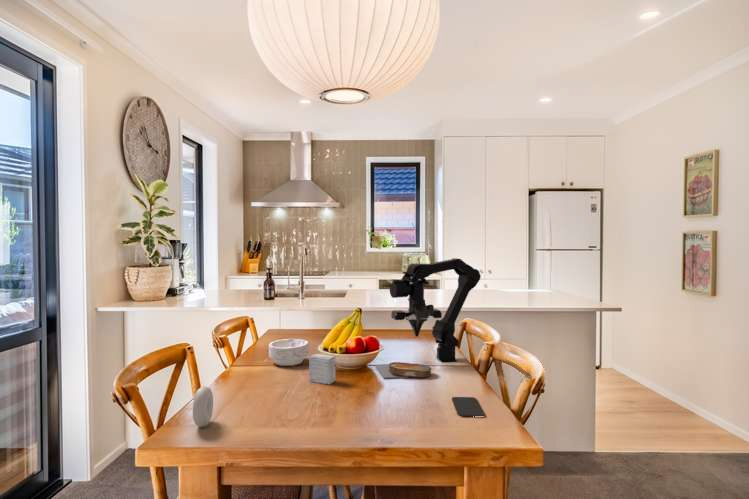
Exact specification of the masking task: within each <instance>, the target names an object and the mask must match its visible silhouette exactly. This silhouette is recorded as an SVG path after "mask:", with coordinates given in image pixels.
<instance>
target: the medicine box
mask: <svg viewBox="0 0 749 499" xmlns="http://www.w3.org/2000/svg"><path fill="white" fill-rule="evenodd" d="M308 359H309V362H308V363H309V364H308V365H309V366H308V369H309V370H308V376H309V377H308V381H309V382H311V383H317V384H323V385H331V384H333V383H334V382H335V381H336V356H335V355H328V354H319V353H315V354H313V355H311V356H309V358H308Z"/></svg>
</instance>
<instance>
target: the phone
mask: <svg viewBox="0 0 749 499" xmlns="http://www.w3.org/2000/svg"><path fill="white" fill-rule="evenodd" d="M451 401H452V403H453V406H454V409H455V411H457V412H456V413H457V416H458V415H459V416H462V417H461V418H470V417H473V416H474V417H475V416H485V414H486V413H485V412H484V410H483V409H482V407H481V405H480V403H479V401H478V400H477V398H476V397H473V396H453V397H451ZM459 416H458V417H459ZM485 417H486V416H485Z"/></svg>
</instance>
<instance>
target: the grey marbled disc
mask: <svg viewBox="0 0 749 499" xmlns="http://www.w3.org/2000/svg"><path fill="white" fill-rule="evenodd" d="M196 390H197V391H196V392H195V395H194V398H193V401H192V418H193V422H194V424H195V426H197V427H199V428H204V427H206V426H207V425H209V423H210V422H211V419H212V416H213V411H214V395H213V391H212V389H211V388H210V387H209V386H205V385H204V386H201V387H200V388H198V389H196Z"/></svg>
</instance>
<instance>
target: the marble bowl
mask: <svg viewBox="0 0 749 499" xmlns="http://www.w3.org/2000/svg"><path fill="white" fill-rule="evenodd" d="M309 350H310V349H309V341H307V340H305V339H300V338H286V339H285V338H284V339H277V340H274V341H272V342H270V343H269V344H268V357H269V358H270V359H272V360H273V361H274V363H275V364H276V365H277V366H283V367H291V366H292V367H293V366H296V365H297V366H298V365H300V364H301V363H303V361H304V359H305V358H306V357H308V356H309V352H310V351H309Z"/></svg>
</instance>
